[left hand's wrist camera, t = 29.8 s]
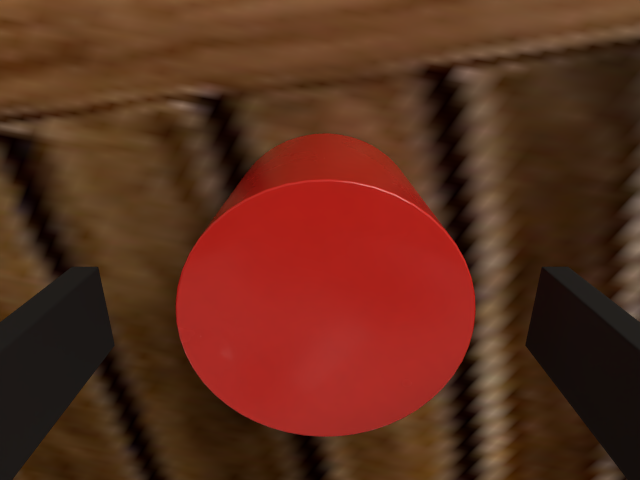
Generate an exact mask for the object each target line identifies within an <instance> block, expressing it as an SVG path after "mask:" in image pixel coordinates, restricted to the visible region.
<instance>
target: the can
mask: <svg viewBox="0 0 640 480" xmlns="http://www.w3.org/2000/svg"><path fill="white" fill-rule="evenodd" d="M474 320H475V293H474V288H473V283H472V278H471V275H470V272H469V269H468V267H467V264H466V261H465V259H464V257H463V256H462V254H461V252H460V250H459V248H458V246H457V245H456V243H455V242H454V241H453V239H452V238H451V237H450V235H449V234H448V233H447V231H446V230H445V229H444V227H443V226H442V225H441V223H440V222H439V221H438V219H437V218H436V217H435V215H434V214H433V213H432V211H431V210H430V209H429V207H428V206H427V205H426V203H425V202H424V201H423V199H422V198H421V197H420V195H419V194H418V193H417V191H416V190H415V189H414V188H413V186H412V185H411V184H410V182H409V181H408V180H407V178H406V177H405V176H404V174H403V173H402V172H401V170H400V169H399V168H398V166H397V165H396V164H395V163H394V162H393V161H392V160H391V159H390V158H389V157H388V156H386V155H385V154H384V153H382V152H381V151H380V150H378V149H377V148H375V147H373V146H371V145H370V144H368V143H366V142H363V141H361V140H358V139H355V138H352V137H348V136H344V135H338V134H312V135H306V136H301V137H297V138H294V139H291V140H288V141H286V142H284V143H282V144H280V145H278V146H276V147H274V148H273V149H271V150H270V151H268V152H267V153H265V154H264V155H263V156H262V157H261V158H260V159H259V160H257V161H256V162H255V164H254V165H253V166H252V167H251V168H250V169H249V170H248V172H247V173H246V175H245V176H244V177H243V179H242V180H241V181H240V183H239V184H238V185H237V187H236V188H235V190H234V191H233V192H232V194H231V195H230V196H229V198H228V199H227V201H226V202H225V203H224V205H223V206H222V207H221V209H220V210H219V212H218V213H217V214H216V216H215V217H214V218H213V220H212V221H211V223H210V224H209V225H208V227H207V228H206V229H205V231H204V232H203V233H202V235H201V236H200V238H199V239H198V241H197V242H196V244H195V245H194V247H193V248H192V250H191V252H190V253H189V255H188V258H187V260H186V262H185V264H184V267H183V269H182V272H181V276H180V279H179V283H178V287H177V295H176V322H177V327H178V332H179V337H180V340H181V343H182V346H183V349H184V351H185V354H186V356H187V358H188V360H189V362H190V363H191V365H192V367H193V369H194V370H195V372H196V373H197V375H198V376H199V377H200V379H201V380H202V382H203V383H204V384H205V385H206V386H207V387H208V388H209V389H210V390H211V391H212V392H213V394H215V395H216V396H217V397H218V398H219V399H220V400H222V401H223V402H224V403H225V404H226V405H228V406H229V407H231V408H232V409H234V410H235V411H237V412H238V413H240V414H242V415H243V416H245V417H247V418H249V419H251V420H253V421H255V422H257V423H260V424H262V425H265V426H268V427H270V428H273V429H277V430H281V431H284V432H288V433H294V434H299V435H306V436H320V437H325V436H344V435H352V434H358V433H362V432H367V431H371V430H374V429H377V428H380V427H383V426H386V425H389V424H391V423H393V422H396V421H398V420H400V419H402V418H404V417H406V416H408V415H409V414H411V413H413V412H414V411H416V410H418V409H419V408H420V407H422V406H423V405H424V404H426V403H427V402H428V401H430V400H431V399H432V398H433V397H434V396H435V395H436V394H437V393H438V392H439V391H440V390H441V389H442V388H443V387H444V386H445V385H446V384H447V382H448V381H449V380H450V379H451V377H452V376H453V375H454V374H455V372H456V370H457V369H458V367H459V365H460V364H461V362H462V360H463V358H464V356H465V353H466V351H467V349H468V347H469V344H470V340H471V336H472V333H473V329H474Z"/></svg>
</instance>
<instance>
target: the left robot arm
mask: <svg viewBox="0 0 640 480" xmlns="http://www.w3.org/2000/svg"><path fill="white" fill-rule="evenodd" d="M113 347H114V340H113V335H112V331H111V326H110V321H109V316H108V312H107V307H106V302H105V297H104V293H103V288H102V283H101V278H100V274H99V269H98V267H71V268H70V269H69V270H67V271H66V272H65V273H64V274H62V275H61V276H60V277H58V278H57V279H56V280H54V281H53V282H52V283H51V284H49V285H48V286H47V287H45V288H44V289H43V290H42V291H40V292H39V293H38V294H36V295H35V296H34V297H32V298H31V299H30V300H29V301H27V302H26V303H25V304H23V305H22V306H21V307H19V308H18V309H17V310H16V311H14V312H13V313H12V314H10V315H9V316H8V317H6V318H5V319H4V320H3V321H1V322H0V480H12V479H13V478H14V477H15V475H16V474H17V473H18V471H19V470H20V469H21V467H22V466H23V465H24V464H25V462H26V461H27V460H28V458H29V457H30V456H31V454H32V453H33V452H34V450H35V449H36V448H37V446H38V445H39V444H40V443H41V441H42V440H43V439H44V437H45V436H46V435H47V433H48V432H49V431H50V429H51V428H52V427H53V425H54V424H55V423H56V422H57V420H58V419H59V418H60V416H61V415H62V414H63V412H64V411H65V410H66V408H67V407H68V406H69V404H70V403H71V402H72V401H73V399H74V398H75V397H76V395H77V394H78V393H79V391H80V390H81V389H82V387H83V386H84V385H85V383H86V382H87V381H88V380H89V378H90V377H91V376H92V374H93V373H94V372H95V370H96V369H97V368H98V366H99V365H100V364H101V363H102V361H103V360H104V359H105V357H106V356H107V355H108V353H109V352H110V351H111V349H112V348H113ZM526 347H527V348H528V349H529V351H530V352H531V353H532V355H533V356H534V357H535V359H536V360H537V361H538V363H539V364H540V365H541V366H542V368H543V369H544V370H545V372H546V373H547V374H548V376H549V377H550V378H551V380H552V381H553V382H554V383H555V385H556V386H557V387H558V389H559V390H560V391H561V393H562V394H563V395H564V397H565V398H566V399H567V401H568V402H569V403H570V404H571V406H572V407H573V408H574V410H575V411H576V412H577V414H578V415H579V416H580V418H581V419H582V420H583V422H584V423H585V424H586V425H587V427H588V428H589V429H590V431H591V432H592V433H593V435H594V436H595V437H596V439H597V440H598V441H599V443H600V444H601V445H602V446H603V448H604V449H605V450H606V452H607V453H608V454H609V456H610V457H611V458H612V460H613V461H614V462H615V464H616V465H617V466H618V467H619V469H620V470H621V471H622V473H623V474H624V475H625V477H626V478H627V479H628V480H640V322H639V321H637V320H636V319H635V318H634V317H632V316H631V315H630V314H628V313H627V312H626V311H624V310H623V309H622V308H621V307H619V306H618V305H617V304H615V303H614V302H613V301H611V300H610V299H609V298H608V297H606V296H605V295H604V294H602V293H601V292H600V291H598V290H597V289H596V288H595V287H593V286H592V285H591V284H589V283H588V282H587V281H586V280H584V279H583V278H582V277H580V276H579V275H578V274H576V273H575V272H574V271H573V270H571V269H570V268H569V267H542V269H541V274H540V278H539V283H538V288H537V293H536V297H535V302H534V307H533V312H532V316H531V321H530V326H529V331H528V335H527V340H526Z"/></svg>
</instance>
